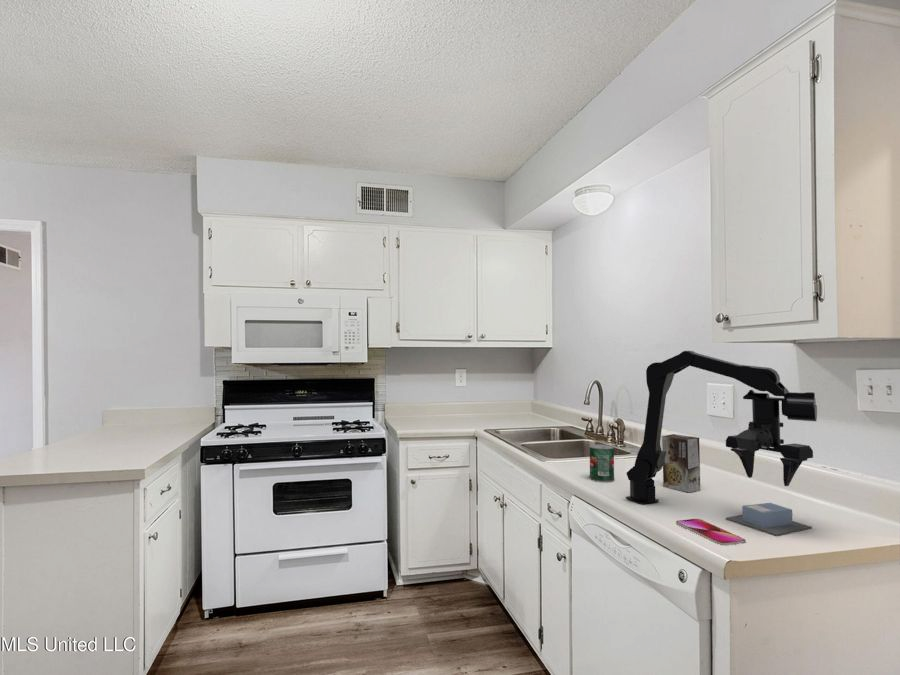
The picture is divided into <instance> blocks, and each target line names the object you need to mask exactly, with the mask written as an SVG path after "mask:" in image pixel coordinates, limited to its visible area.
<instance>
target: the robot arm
mask: <svg viewBox="0 0 900 675" xmlns="http://www.w3.org/2000/svg"><path fill="white" fill-rule="evenodd" d="M688 367H693V368H696V369H699V370H703V371H707V372H710V373H714V374H718V375H721V376H725V377H728V378H731V379H734V380H736V381H738V382H741V383H742V384H743V385H746V386H748V387H750V388H752V389H749V391H748V392H747V393H746V394H745V395H743V397H742V399H743V400H751V406H752V407H751V408H752V421H749V422H748V427H747V429H745V430H743V431H741V432H740V433H738V434H737V435H736V434H734V435H728V436H727V437H726V439H725V447H726V448H729V449H730V451H731V452H733V453H735V454H736V455H737V457H739V459H740V462H741V464H742V467H743V469H744V471H745V474H746V476H747V478H753V474H754V468H755V467H754V465H755V455H756V452H757V451H759V450H763V451H767V452H773V453H774V452H775V453H780V455H781V456H782V457H780V458H779V459H780V462H781V463H782V468H783V471H782V473H783V474H782V476H783V478H782V480H783V485H784V486H785V487H789V486H790V484H791V482H792V479H793V478H794V477H795V474H796V472H797V471H798V468H800V466H801V465H802V463H803V462H806V461H808V459H814V452H813V449H812V447H811V446H810V445H807V444H801V443H787V444H784V442H785V439H781V428H783V427H784V422H781V420H780V402H781V415H782V416H784V417H786V418H787V420H790V421H805V422H817V419H818V405H817V402H816V393H815V392H813V391H811V392H809V391H808V392H794V391H793V392H792V391H791V392H790V391H789V389H788V388H787V387H786V386H785V385H784V384H783V383H782V382H781V378H780V375H779V373H778V371H776V370H775V369H774V368H771V367H767V366H766V367H765V366H756V365H745V364H739V363H735V362H732V361H727V360H723V359H719V358H716V357H711V356H709V355H704V354H702V353H699V352H695V351H693V350H684V351H683V350H682V352H680V353H679V354H677V355H674V356H672V357H670V358H667V359H665V360H663V361H661V362H660V361H659V362H658V361H657V362H652V363H650V364H649V365H647V367H646V370H645V371H646V372H645V377H646V386H647V389H648V400H647V401H648V402H647V410H646V418H645V426H644V433H643V440H642V444H641V446H640V448H639V450H638V452H637V455H636V458H635V462H634V465H633V466H632V467H631V468H630V469H629V470H628V471H626V473H625V474H626V476H627V479H628V481H629V496H625V499H627V500H629V501H632V502H635V503H638V504H639V505H646V504H652V503H658V502H660V500H659V499H658V498H656V486H655V479H653V478H655V477H656V476H657V473H658V472H660V471H661V470H663V466H664V465H665V456H666V451H662V447H661V446H662V445H661V440H662V430H663V422H664V414H665V407H666V406H665V405H666V399H667V398H666V396H667V394H668V392H669V390H670V388H671V385H672V383H673V380H674V377H675V374H678V373H679V372H682V371H683V370H685V369H687V368H688ZM753 389H754V390H753ZM755 390H757V391H760V392H755ZM766 392H768V393H766ZM770 394H771V395H773V396H774V397H772V396H771V397H770Z"/></svg>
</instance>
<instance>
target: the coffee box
mask: <svg viewBox="0 0 900 675" xmlns="http://www.w3.org/2000/svg"><path fill="white" fill-rule="evenodd" d="M661 443H662V444H661V446H662V447H661V450H662V451H666V456H665V465H664V466H663V467H662V479H663V480H662V481H663V482H662V483H663V486H662V487H664V488H668V489H671V490H675V491H676V490H677V491H681V492H685V493H693V492H698V491H701V462H700V461H701V458H700V457H701V456H700V453H701V452H700V437H696V436H691V435H690V436H689V435H682V434H675V433H673V434H666V435H661Z"/></svg>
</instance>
